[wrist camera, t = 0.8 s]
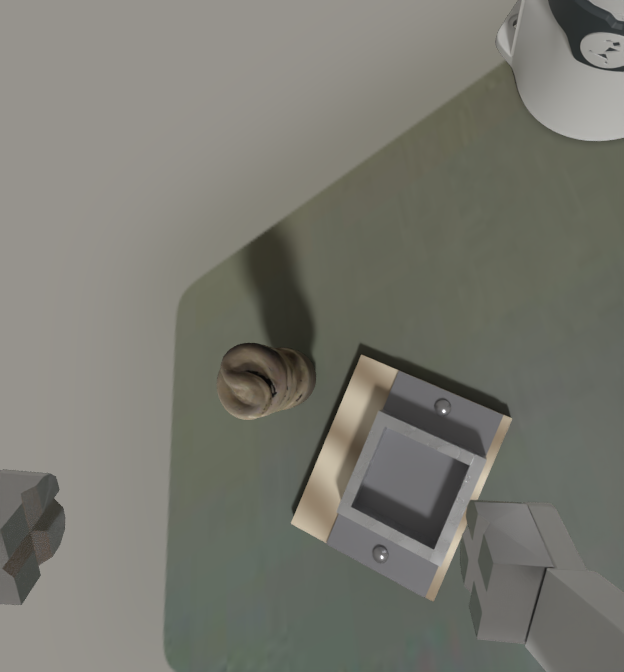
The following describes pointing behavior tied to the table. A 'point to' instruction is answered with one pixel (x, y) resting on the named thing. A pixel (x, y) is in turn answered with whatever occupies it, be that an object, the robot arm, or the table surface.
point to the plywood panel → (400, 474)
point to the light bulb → (263, 380)
